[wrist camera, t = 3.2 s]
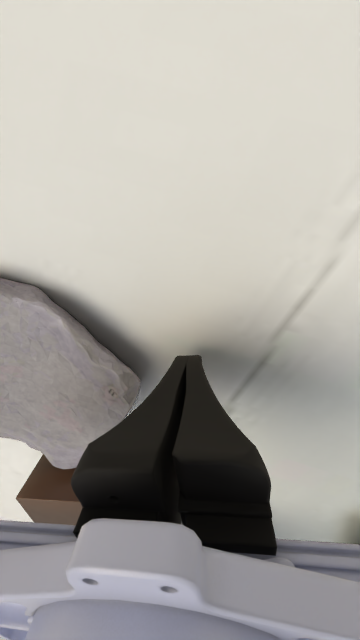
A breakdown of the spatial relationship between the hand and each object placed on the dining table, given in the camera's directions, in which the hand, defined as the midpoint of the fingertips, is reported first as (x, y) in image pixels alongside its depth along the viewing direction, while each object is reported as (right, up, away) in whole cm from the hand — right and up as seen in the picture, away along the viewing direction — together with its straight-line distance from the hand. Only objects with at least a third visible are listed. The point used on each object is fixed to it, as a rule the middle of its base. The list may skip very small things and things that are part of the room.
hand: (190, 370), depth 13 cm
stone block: (-9, 0, +3) cm, 9 cm away
